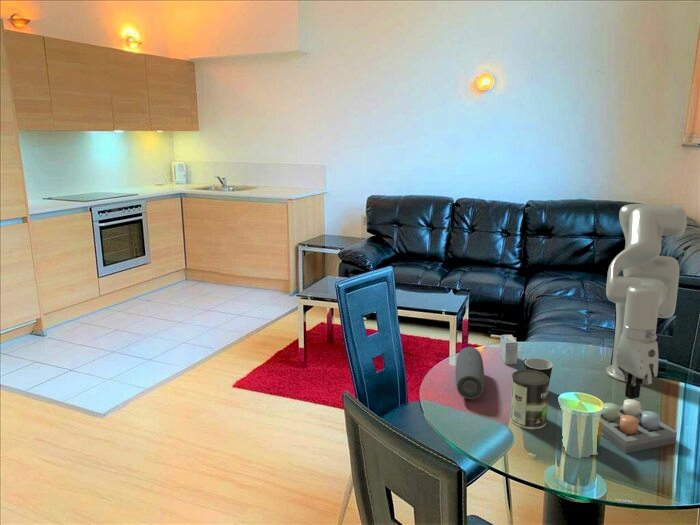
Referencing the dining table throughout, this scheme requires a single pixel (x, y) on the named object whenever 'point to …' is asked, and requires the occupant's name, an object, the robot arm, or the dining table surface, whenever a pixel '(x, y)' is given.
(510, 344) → the medicine box
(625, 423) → the button terracotta
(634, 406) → the button cream
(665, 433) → the grey square tray
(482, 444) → the dining table surface
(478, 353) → the bluetooth speaker
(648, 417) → the button slate
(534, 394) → the coffee can
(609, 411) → the button sage
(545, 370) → the coffee mug
